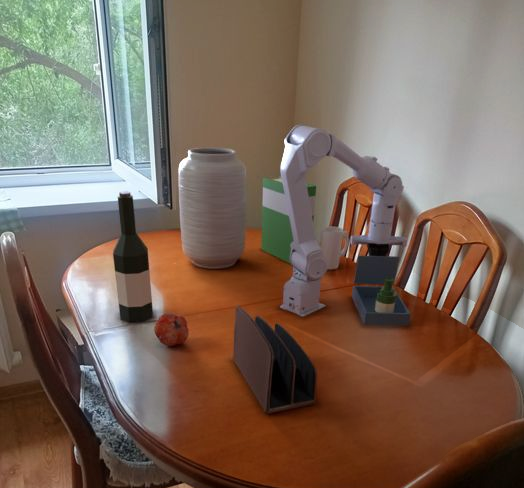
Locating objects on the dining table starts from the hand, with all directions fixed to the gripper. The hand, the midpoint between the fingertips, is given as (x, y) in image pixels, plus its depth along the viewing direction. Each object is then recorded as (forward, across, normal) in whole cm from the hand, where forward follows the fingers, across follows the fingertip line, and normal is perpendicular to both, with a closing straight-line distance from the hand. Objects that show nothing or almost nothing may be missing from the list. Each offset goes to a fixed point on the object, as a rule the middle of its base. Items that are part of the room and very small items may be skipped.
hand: (374, 270), depth 133 cm
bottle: (+7, 0, +15) cm, 16 cm away
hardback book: (+8, +22, -33) cm, 41 cm away
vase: (+8, +45, -26) cm, 53 cm away
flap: (-1, 0, +2) cm, 2 cm away
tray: (+8, 0, +10) cm, 13 cm away
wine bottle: (+8, +62, +15) cm, 64 cm away
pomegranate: (+8, +51, +28) cm, 59 cm away
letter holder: (+8, +29, +43) cm, 53 cm away
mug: (+8, +7, -24) cm, 26 cm away
